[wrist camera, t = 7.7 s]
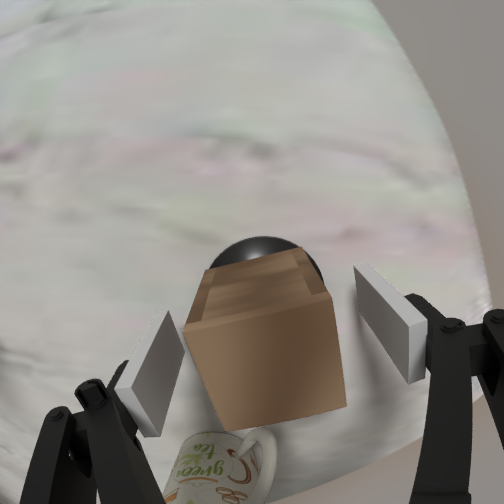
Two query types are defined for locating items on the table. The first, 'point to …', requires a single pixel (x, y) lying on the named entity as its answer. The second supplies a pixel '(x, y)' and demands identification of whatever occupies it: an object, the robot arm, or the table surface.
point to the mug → (223, 469)
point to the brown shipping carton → (266, 341)
